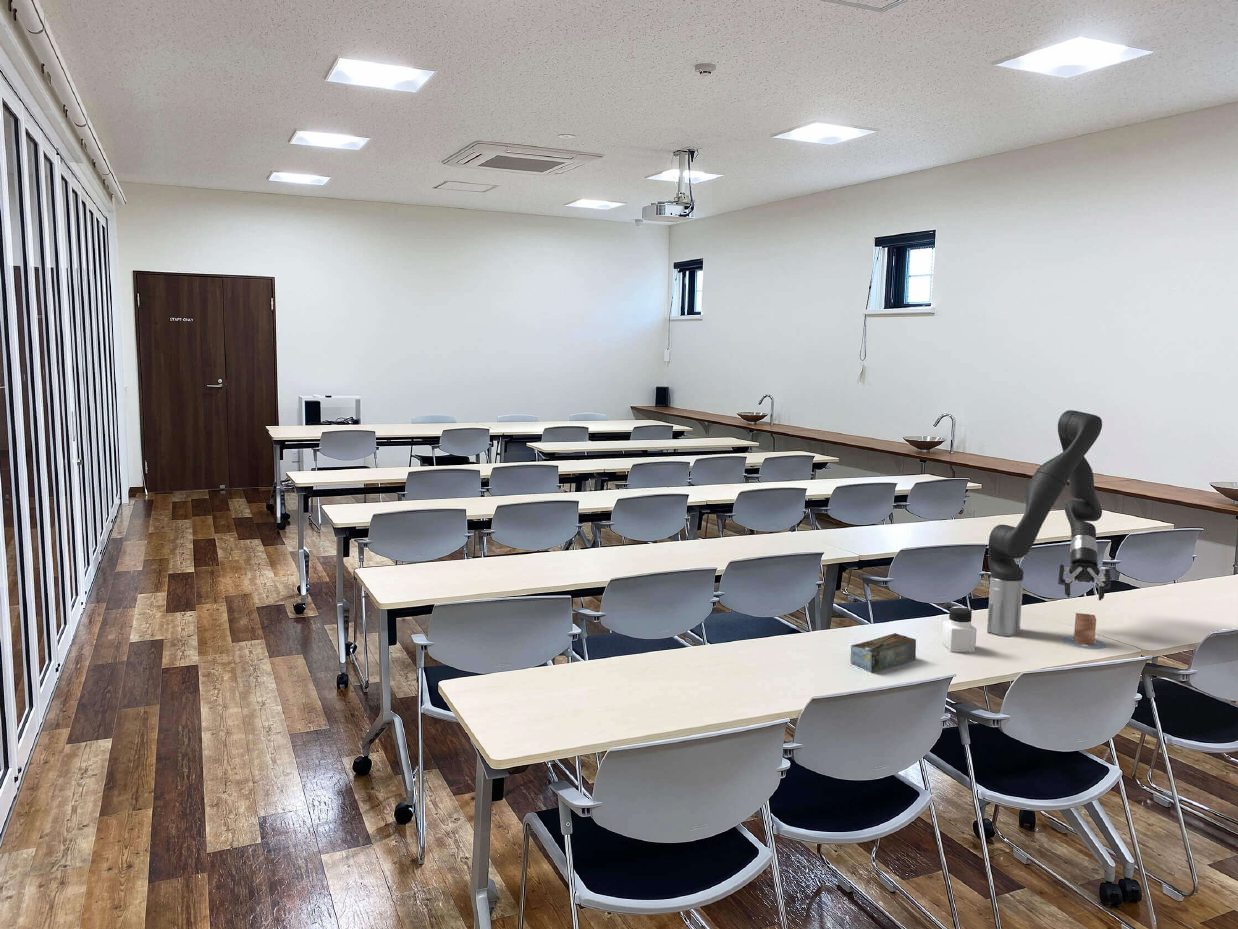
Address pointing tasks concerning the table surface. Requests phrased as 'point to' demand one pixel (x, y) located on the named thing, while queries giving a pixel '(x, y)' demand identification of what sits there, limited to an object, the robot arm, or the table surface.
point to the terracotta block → (1085, 629)
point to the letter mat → (1097, 645)
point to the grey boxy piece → (883, 652)
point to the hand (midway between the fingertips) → (1084, 597)
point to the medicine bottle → (959, 631)
